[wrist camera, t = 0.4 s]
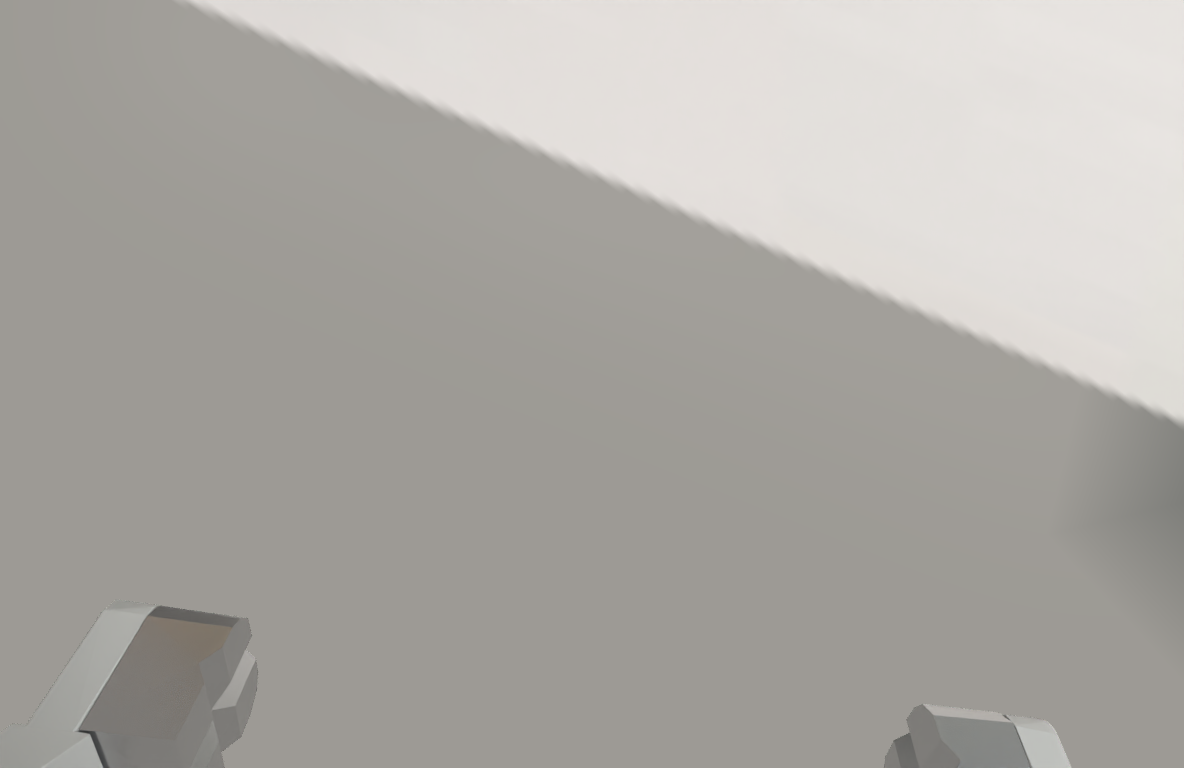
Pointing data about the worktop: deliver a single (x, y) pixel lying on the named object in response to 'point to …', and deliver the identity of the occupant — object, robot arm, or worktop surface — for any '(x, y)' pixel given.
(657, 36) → the worktop surface
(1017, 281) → the worktop surface
